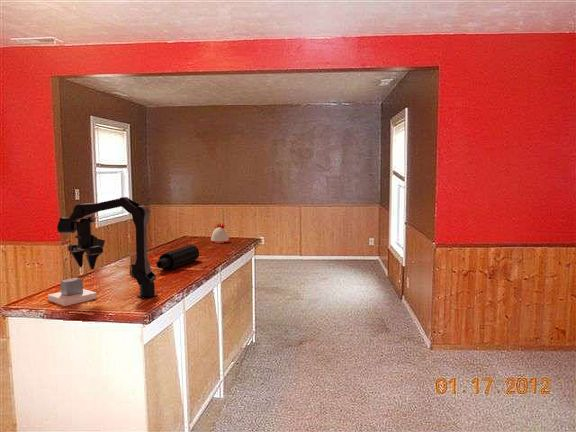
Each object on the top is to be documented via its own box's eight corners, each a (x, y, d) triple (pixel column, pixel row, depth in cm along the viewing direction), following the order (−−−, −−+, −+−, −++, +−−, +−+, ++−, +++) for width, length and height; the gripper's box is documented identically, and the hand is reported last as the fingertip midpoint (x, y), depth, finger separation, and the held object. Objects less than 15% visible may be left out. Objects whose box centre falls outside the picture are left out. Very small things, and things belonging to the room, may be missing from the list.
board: (96, 298, 194) (96, 292, 194) (64, 306, 183) (64, 300, 183) (80, 293, 202) (79, 287, 202) (48, 300, 191) (47, 294, 191)
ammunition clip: (140, 270, 249) (139, 249, 248) (143, 270, 249) (142, 249, 248) (129, 275, 239) (128, 252, 237) (133, 275, 238) (132, 252, 237)
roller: (169, 271, 240) (164, 253, 240) (154, 275, 243) (148, 258, 243) (201, 258, 277) (197, 242, 276) (188, 262, 279) (183, 247, 279)
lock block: (83, 292, 194) (82, 279, 193) (67, 296, 188) (66, 282, 187) (77, 291, 197) (76, 277, 196) (61, 294, 191) (60, 280, 190)
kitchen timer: (225, 243, 342) (225, 224, 341) (208, 243, 345) (208, 223, 343) (231, 241, 356) (230, 222, 355) (214, 240, 359) (214, 222, 357)
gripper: (113, 231, 195) (115, 267, 197) (90, 229, 206) (92, 262, 208) (89, 235, 187) (91, 271, 188) (66, 232, 198) (68, 267, 199)
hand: (86, 268), depth 196 cm, fingers open, 9 cm apart
